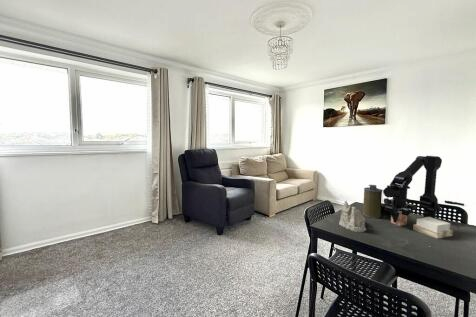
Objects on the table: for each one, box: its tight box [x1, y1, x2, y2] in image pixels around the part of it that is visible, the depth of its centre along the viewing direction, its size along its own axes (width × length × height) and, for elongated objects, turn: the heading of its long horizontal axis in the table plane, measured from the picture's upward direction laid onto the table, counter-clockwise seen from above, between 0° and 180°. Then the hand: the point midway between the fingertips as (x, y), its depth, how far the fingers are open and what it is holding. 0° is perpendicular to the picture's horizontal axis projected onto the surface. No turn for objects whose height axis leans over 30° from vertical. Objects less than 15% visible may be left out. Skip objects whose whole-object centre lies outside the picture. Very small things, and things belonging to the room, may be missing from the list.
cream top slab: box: [415, 217, 451, 232], centre depth 126 cm, size 10×10×4 cm
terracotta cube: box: [390, 213, 408, 227], centre depth 139 cm, size 6×6×6 cm
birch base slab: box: [412, 223, 454, 239], centre depth 127 cm, size 12×12×4 cm
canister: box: [361, 184, 384, 219], centre depth 152 cm, size 11×10×20 cm
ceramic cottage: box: [338, 200, 367, 233], centre depth 135 cm, size 16×16×15 cm
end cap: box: [380, 202, 395, 217], centre depth 155 cm, size 10×7×7 cm
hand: (398, 221), depth 139 cm, fingers open, 6 cm apart
